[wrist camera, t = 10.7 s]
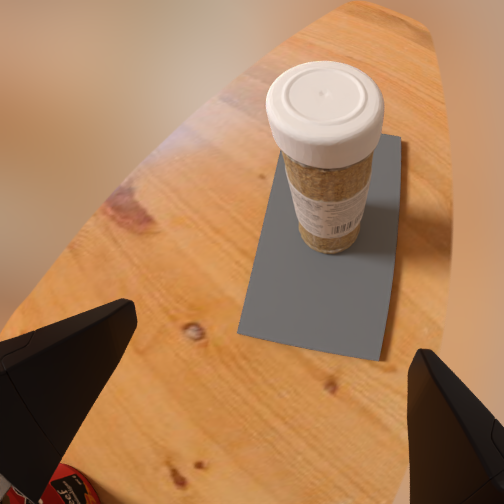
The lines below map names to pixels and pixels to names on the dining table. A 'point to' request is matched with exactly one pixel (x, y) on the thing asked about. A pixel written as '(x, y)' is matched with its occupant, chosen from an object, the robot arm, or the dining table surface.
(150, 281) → the dining table surface
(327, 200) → the spice jar
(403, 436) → the dining table surface
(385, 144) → the charcoal mat
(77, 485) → the canned food
